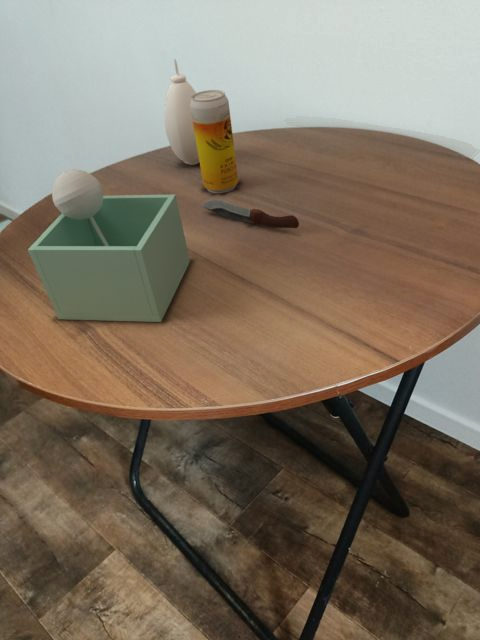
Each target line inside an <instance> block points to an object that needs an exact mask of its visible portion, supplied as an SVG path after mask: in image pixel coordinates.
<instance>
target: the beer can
mask: <svg viewBox="0 0 480 640" xmlns="http://www.w3.org/2000/svg"><path fill="white" fill-rule="evenodd" d="M190 109H191V115H192V121H193V127H194V132H195V138H196V144H197V150H198V156H199V162H198V163H199V167H200V172H201V179H202V185H203V187H204V188H205V189H206V190H207V191H208V192H209V193H212V194H224V193H228V192H231V191H233V190H234V189H235V188H236V186H237V184H238V183H239V175H238V168H237V167H238V166H237V160H236V159H237V158H236V152H235V151H236V150H235V143H234V135H233V127H232V126H233V125H232V119H231V112H230V111H231V110H230V103H229V99H228V97H227V96H226V92H225V91H223V90H220V89H208V90H207V89H206V90H202V91H198V92H196V93H195V94H193V95H192V96H191V102H190Z"/></svg>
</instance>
